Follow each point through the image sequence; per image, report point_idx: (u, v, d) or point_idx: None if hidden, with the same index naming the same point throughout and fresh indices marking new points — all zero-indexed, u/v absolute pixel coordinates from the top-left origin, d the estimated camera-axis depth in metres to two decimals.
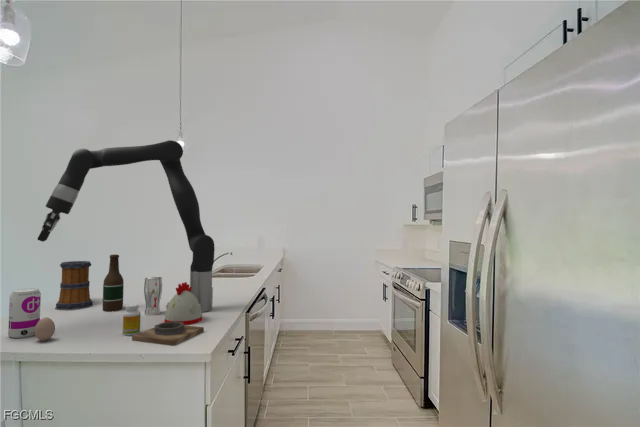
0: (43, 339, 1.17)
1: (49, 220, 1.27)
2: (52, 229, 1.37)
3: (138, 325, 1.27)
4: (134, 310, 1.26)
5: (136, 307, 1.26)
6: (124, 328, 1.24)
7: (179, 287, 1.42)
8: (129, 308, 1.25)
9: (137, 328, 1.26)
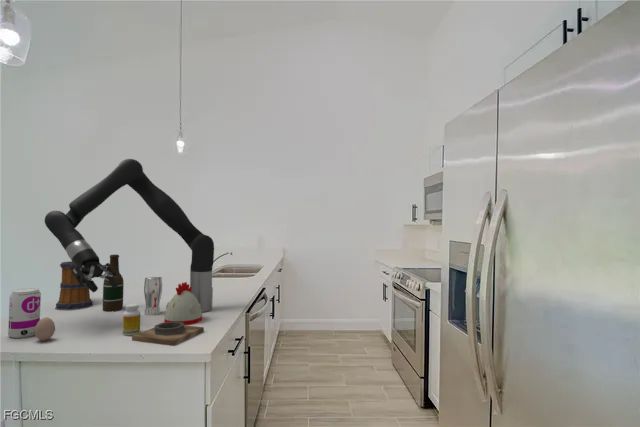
0: (43, 339, 1.17)
1: (76, 275, 1.26)
2: (111, 275, 1.36)
3: (138, 325, 1.27)
4: (134, 310, 1.26)
5: (136, 307, 1.26)
6: (124, 328, 1.24)
7: (179, 287, 1.42)
8: (129, 308, 1.25)
9: (137, 328, 1.26)
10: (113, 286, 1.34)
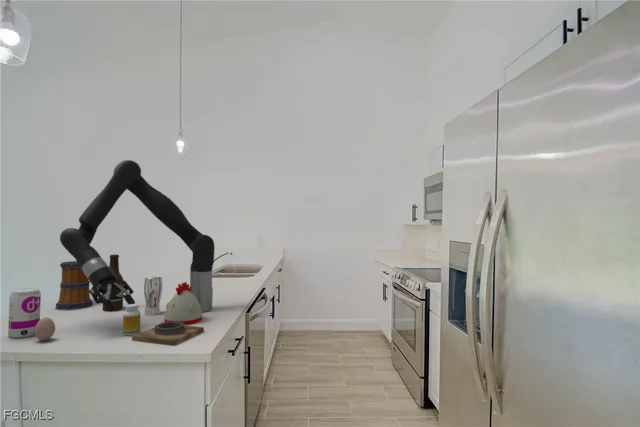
0: (43, 339, 1.17)
1: (94, 295, 1.23)
2: (128, 293, 1.33)
3: (138, 325, 1.27)
4: (134, 310, 1.26)
5: (136, 307, 1.26)
6: (124, 328, 1.24)
7: (179, 287, 1.42)
8: (129, 308, 1.25)
9: (137, 328, 1.26)
10: None
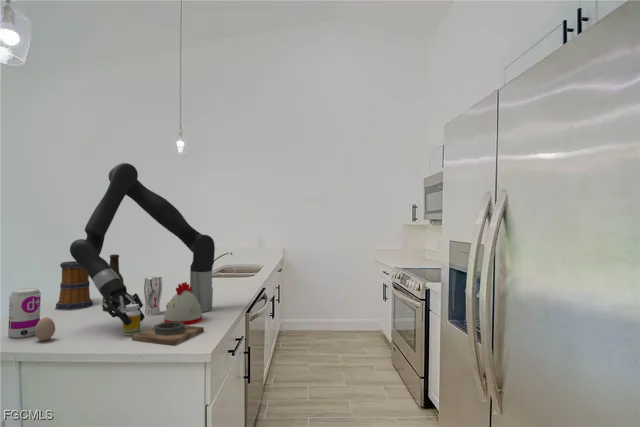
0: (43, 339, 1.17)
1: (108, 309, 1.22)
2: (138, 307, 1.30)
3: (138, 325, 1.27)
4: (134, 310, 1.26)
5: (136, 307, 1.26)
6: (124, 327, 1.24)
7: (179, 287, 1.42)
8: (129, 308, 1.25)
9: (137, 328, 1.26)
10: (140, 319, 1.29)
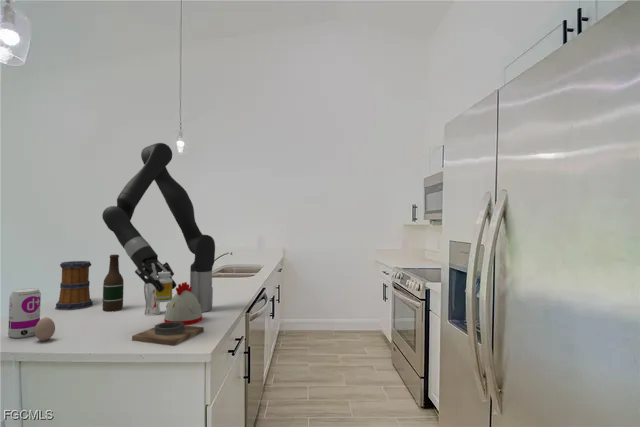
0: (43, 339, 1.17)
1: (141, 275, 1.21)
2: None
3: (171, 293, 1.25)
4: (166, 277, 1.25)
5: (168, 274, 1.25)
6: (157, 294, 1.23)
7: (179, 287, 1.42)
8: (162, 275, 1.24)
9: (169, 295, 1.25)
10: (172, 287, 1.28)
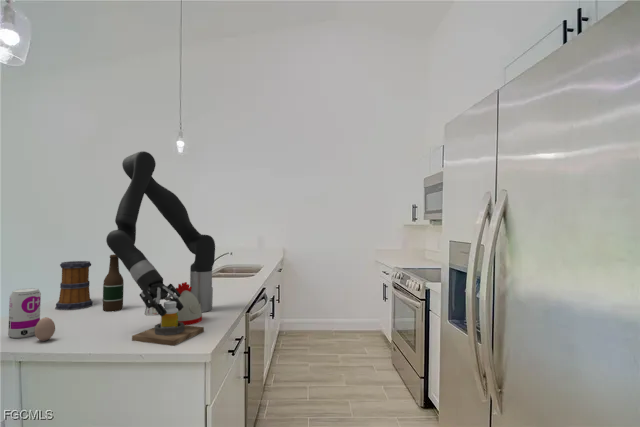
0: (43, 339, 1.17)
1: (145, 299, 1.20)
2: (176, 296, 1.30)
3: (176, 323, 1.25)
4: (172, 307, 1.24)
5: (174, 304, 1.25)
6: (163, 325, 1.23)
7: (179, 287, 1.42)
8: (168, 305, 1.23)
9: (175, 326, 1.24)
10: (179, 308, 1.28)
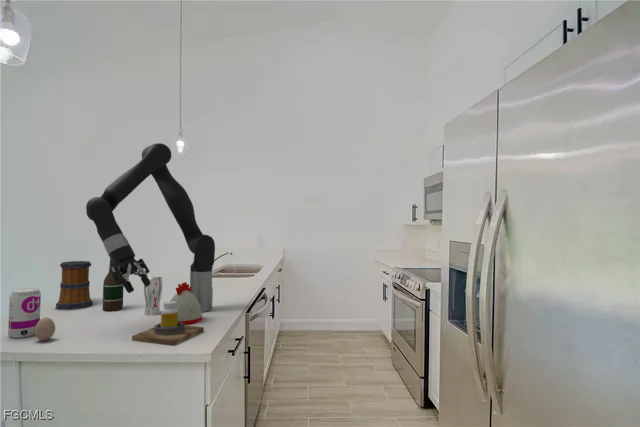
0: (43, 339, 1.17)
1: (114, 275, 1.25)
2: (145, 273, 1.36)
3: (176, 323, 1.25)
4: (172, 307, 1.24)
5: (174, 304, 1.25)
6: (163, 325, 1.23)
7: (179, 287, 1.42)
8: (168, 305, 1.23)
9: (175, 326, 1.24)
10: (146, 285, 1.35)
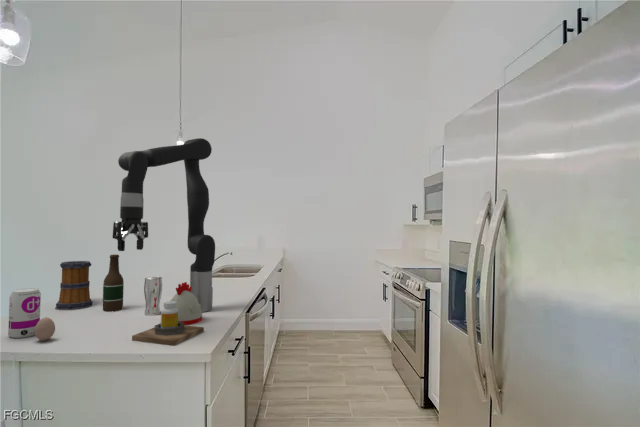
0: (43, 339, 1.17)
1: (115, 229, 1.28)
2: (143, 237, 1.38)
3: (176, 323, 1.25)
4: (172, 307, 1.24)
5: (174, 304, 1.25)
6: (163, 325, 1.23)
7: (179, 287, 1.42)
8: (168, 305, 1.23)
9: (175, 326, 1.24)
10: (138, 248, 1.38)
